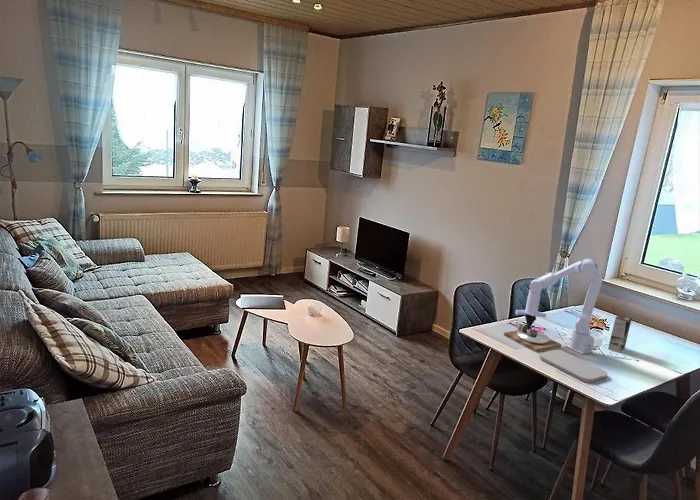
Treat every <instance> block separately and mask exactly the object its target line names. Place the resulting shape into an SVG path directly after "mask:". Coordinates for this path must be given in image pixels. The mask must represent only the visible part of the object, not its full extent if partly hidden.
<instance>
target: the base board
mask: <svg viewBox="0 0 700 500" xmlns="http://www.w3.org/2000/svg"><path fill="white" fill-rule="evenodd" d="M522 326H523V323H518V327H517V330H513V331H505V332H503V336H504V337H507V338H508V339H509V340H512V341H514V342H516V343H517V344H520V345H522V346H523V347H525V348H527V349H528V350H531V351H533V352H534V353H537V352H541V351H542V352H543V351H544V352H545V351H550V350H555V349H559V348H561V347H562V343H560V342H557V341H555V339H554V340H553V339H551V338H549V342H548V343H547V344H534V343H530V342H527V341H524V340H522V339H520V338H519V337H518V336H517V331H518V330H522ZM527 330H528V329H527ZM538 332H539V331H538V330H536V329H531V328H530V333H529V335H531V336H537V333H538Z"/></svg>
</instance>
